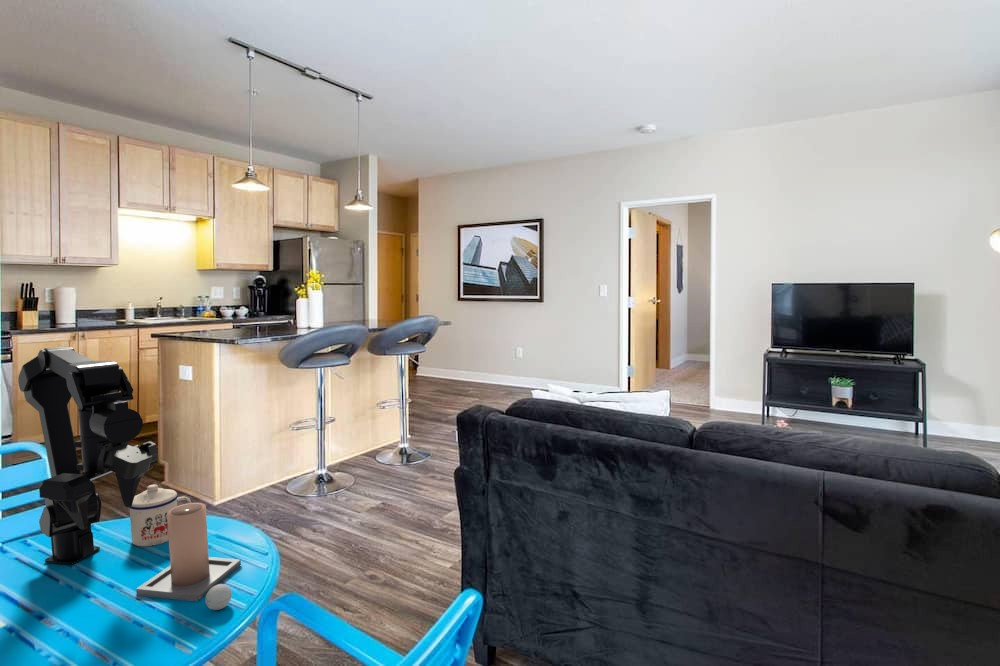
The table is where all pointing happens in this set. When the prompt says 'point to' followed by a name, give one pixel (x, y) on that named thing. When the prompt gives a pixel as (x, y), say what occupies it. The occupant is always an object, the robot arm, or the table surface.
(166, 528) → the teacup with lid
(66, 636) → the table surface
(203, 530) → the terracotta cup
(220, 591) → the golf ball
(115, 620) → the table surface
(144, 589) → the charcoal tray
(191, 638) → the table surface
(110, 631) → the table surface
